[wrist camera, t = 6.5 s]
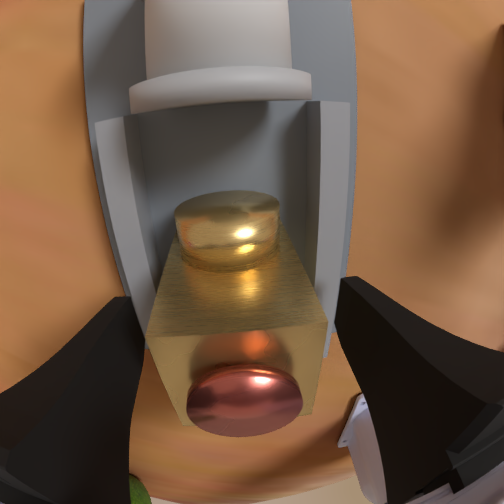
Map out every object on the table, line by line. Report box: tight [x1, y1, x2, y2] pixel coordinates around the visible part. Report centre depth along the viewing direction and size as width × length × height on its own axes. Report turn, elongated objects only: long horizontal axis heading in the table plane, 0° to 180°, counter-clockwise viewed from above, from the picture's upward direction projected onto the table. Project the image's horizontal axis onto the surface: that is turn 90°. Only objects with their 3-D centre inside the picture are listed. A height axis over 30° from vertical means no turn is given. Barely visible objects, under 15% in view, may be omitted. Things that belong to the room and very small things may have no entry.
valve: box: [145, 190, 329, 437], centre depth 9 cm, size 7×4×7 cm, turn 3°
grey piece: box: [83, 0, 357, 358], centre depth 9 cm, size 17×10×5 cm, turn 3°
